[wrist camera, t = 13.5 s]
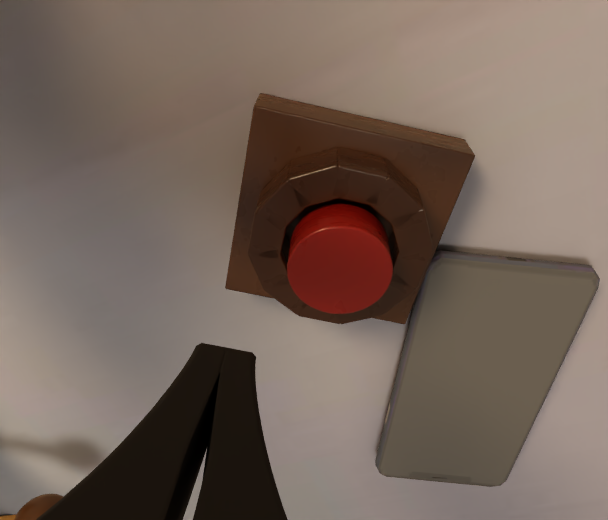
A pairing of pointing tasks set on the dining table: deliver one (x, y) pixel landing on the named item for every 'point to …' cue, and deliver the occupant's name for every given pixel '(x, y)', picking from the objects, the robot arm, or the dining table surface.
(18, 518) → the lever
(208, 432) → the robot arm
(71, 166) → the dining table surface
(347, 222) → the button
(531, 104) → the dining table surface
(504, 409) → the smartphone
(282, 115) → the button base
